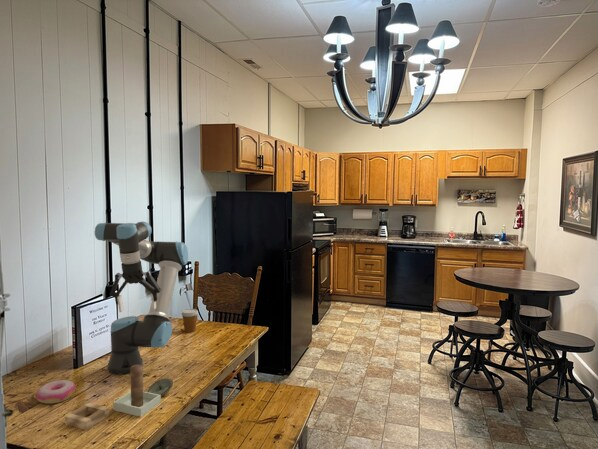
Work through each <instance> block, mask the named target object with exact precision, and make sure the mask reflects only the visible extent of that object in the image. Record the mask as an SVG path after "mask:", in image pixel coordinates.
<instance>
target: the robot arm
mask: <svg viewBox="0 0 598 449" xmlns="http://www.w3.org/2000/svg"><path fill="white" fill-rule="evenodd" d="M151 234H152V226H151V225H150V224H149V223H148V222H146V221H140V222H139V221H138V222H136V223H134V222H126V223H121V222H120V223H119V222H118V223H117V222H100V223H98V224H97V225H96V226H95V227H94V236H95V238H96V240H98V241H103V242H104V241H106V242H107V241H108V242H110V243H112V244H114V245H116V246H118V249H119V250H118V251H119V258H120V262H121V271H122V273H120V272H117V273H116V274H115V275H114V282H113V284H112V287H111V290H110V292H109V296H110V297H114V300H115V305H118V311H119V313H122V312H123V311H124V305H123V303H124V302H123V298H122V294H121V293H122V291H123V289H125V287H126V286H127V285H128V284H131V285H132V284H139V285H142V286H143V287H144V288H145V289H147V291H149V293H151V294H150V299H151V303H150V308H149V312H148V313H147V314H145V315H144V318H143V320H139V317H137V316H135V315H132V316H124V317H120V318H118V319H116V320H115V319H114V321H113V322H111V324H110V344H111V345H110V348H111V352H110V357H109V361H108V363H107V372H108V373H110V374H114V375H125V374H130V367H131V366H133V365H142V366H143V367H144V362H143V358H142V356H141V353H140V351H139V350H140V349H139V348H152V349H156V348H164V347H165V346H166V345H168V344H169V341H170V339H171V338H172V335H173V325H172V323H171V322H170V321H171V319H170V318H169V317H168V315H169V311H170V306H171V301H172V298H173V293H174V290H175V285H176V281H177V276H178V272H180V271H181V270H182V268H183V266H185V265H187V264H188V262H189V251H188V247H187V245H186V244H185V242H182V241H181V242H180V241H152V240H151V241H150V240H147V239H148V238H149V237H150V236H151ZM141 260H142V261H144V262H146V263H150V264H153V265H154V264H155V265H158V267H159V272H158V275H157V280H155V278H154V277H153V275H152V272H151V270H147V271H143V266H142V261H141ZM144 277H146V279H147V281H146V279H145V278H144ZM121 278H123V280H124V282H123V283H122V284H121V286H120V287H119V288H118V290H117V287H118V285H119V283H120V280H121ZM116 290H117V291H116Z"/></svg>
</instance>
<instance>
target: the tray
mask: <svg viewBox="0 0 598 449" xmlns="http://www.w3.org/2000/svg"><path fill="white" fill-rule="evenodd" d="M161 403H162V396H161V395H158V394H154V393H149V392H148V391H144V390H143V406H141V407H136V406H132V405H131V390H130V391H129V392H127V393H126V394H124V395H123V396H120V397H119V398H117V399H116V400H115V401H113V402H112V406H113V408H112V409H113V411H114V412H120V413H124V414H127V415H131V416H136V417H143V416H145V415H146V414H147V413H149V411H151V410H153V409H154V408H155V407H157V406H158V405H160V404H161Z"/></svg>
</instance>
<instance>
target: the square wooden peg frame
mask: <svg viewBox="0 0 598 449" xmlns="http://www.w3.org/2000/svg"><path fill="white" fill-rule="evenodd" d="M87 415H89V416H87ZM86 416H87V417H86ZM107 417H110V407H107V406H103V405H99V404H95V403H91V402H86V403H85V404H84V405H82V406H80V407H79V408H76V409H75V410H73V411H71V412H70V413H67V414H66V415H65V416H64V422H65V423H64V424H65V425H66V424H67V425H66V426H71V427H73V426H74V428H78V429H81V430H85V431H87V430H90V429H91V428H93V427H94V426H95V425H97V424H98V423H100V422H101V421H104V420H105V419H106V418H107Z"/></svg>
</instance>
